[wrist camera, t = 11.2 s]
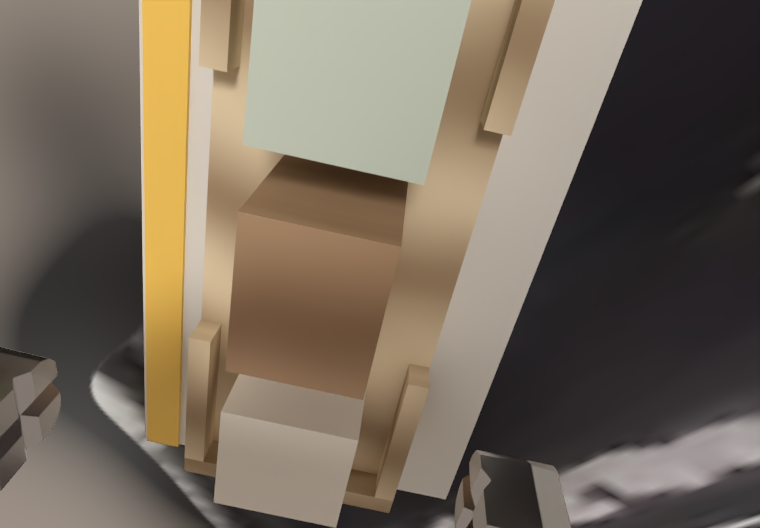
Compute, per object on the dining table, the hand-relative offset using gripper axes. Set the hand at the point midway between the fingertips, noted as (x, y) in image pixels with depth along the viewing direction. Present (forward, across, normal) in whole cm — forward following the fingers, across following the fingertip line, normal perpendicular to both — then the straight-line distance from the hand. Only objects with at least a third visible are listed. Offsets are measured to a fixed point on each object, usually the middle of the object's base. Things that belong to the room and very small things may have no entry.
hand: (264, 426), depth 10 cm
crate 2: (+9, 0, +7) cm, 12 cm away
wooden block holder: (+12, 0, 0) cm, 12 cm away
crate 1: (+9, 0, -6) cm, 11 cm away
